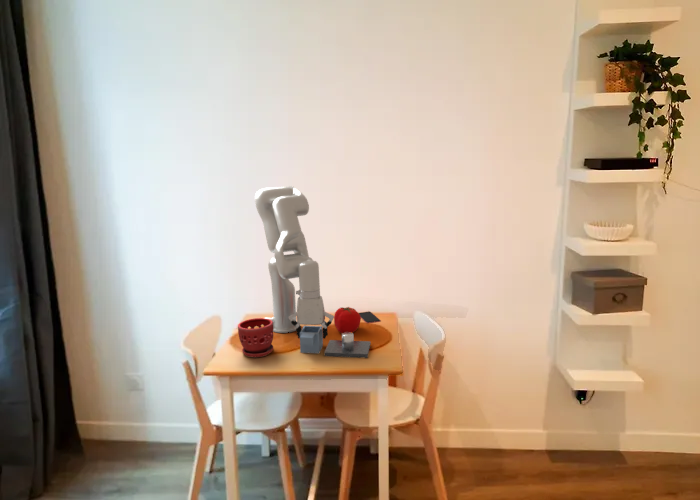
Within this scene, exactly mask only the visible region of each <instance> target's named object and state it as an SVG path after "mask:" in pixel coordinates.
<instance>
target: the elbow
mask: <svg viewBox="0 0 700 500" xmlns="http://www.w3.org/2000/svg"><path fill="white" fill-rule="evenodd" d="M323 345H324V338H323V326H322V325H320V326H319V325H303V327H301V331H300V338H299V348H300V352H299V353H302V354H320V353H321V351H322V348H323Z"/></svg>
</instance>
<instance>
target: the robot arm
mask: <svg viewBox="0 0 700 500" xmlns="http://www.w3.org/2000/svg"><path fill="white" fill-rule="evenodd" d="M254 203H255V207H256V210H257V213H258V215H259V217H260V219H261V221H262V225H263V229H264V234H265V239H266V244H267V247H268V250H269V251H270V252H271V253H273V254H274V256H273V257H272V258H271V259H269V261H268V271H269V276H270V281H271V282H270V283H271V293H272V294H271V295H272V308H273V309H272V311H273V312H272V313H273V316H272V317H265V318H266V319H270V320H272V321H273V328H274V329H273V333H279V334H287V333H288V332H289V333H293V332H296V336H297V338H298V339H300V331H301V330H302V326H301V325H303V326H319V325H320V326H322V334H323V340H326V338H327V337H328V334H329V332H328V328H329V326H330V325H331V324H332V322H334V315H333V314H330V313H329V312H326V311H325V305H324V300H323V297H322V296H321V288H320V287H321V285H320V266H319V263H318V261H316V260H314V259H313V258H312V257H310V255H309V252H308V246H307V242H306V238H305V235H304V232H303V231H302V228H301V224H300V221H299V218H298V217H302V216H306V215H308V214H309V212H310V203H309V201H308V199H307V197H306V196H305V195H304V194H303V192H301V191H300V190H299V189H297V188H296V187H295V186H292V185H291V186H290V185H289V186H274V187H273V186H272V187H264V188H261V189H259V190H258V191H256V193H255V195H254ZM288 252H293V253H291V254H290V253H289V254H284V253H288ZM296 278H297V279H298V283H299V286H298V287H299V290H296V288H295V286H294V283H293V282H292V281H291V280H290V279H296ZM296 295H299V297H298V298H297V303H296ZM326 318H327V319H328V321H327V320H325V319H326Z"/></svg>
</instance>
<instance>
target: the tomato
mask: <svg viewBox="0 0 700 500" xmlns="http://www.w3.org/2000/svg"><path fill="white" fill-rule="evenodd" d="M359 313H360V312H359V311H357V310H356V309H355V308H352V307H350V306H347V307H340V306H339V308H337V310H336V311H335V312H334V315H333V316H334V319H333V322H334V326H335V329H336V331H338V332H339V333H341V334H343V333H345V332H352V333H355V332H356V331H357V330H358V328H359V327H360V324H361V320H362V319H361V317H360V314H359Z"/></svg>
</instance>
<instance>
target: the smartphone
mask: <svg viewBox="0 0 700 500" xmlns="http://www.w3.org/2000/svg"><path fill="white" fill-rule="evenodd" d="M358 313H359V314H360V317H361V320H362V321H363V322H364V323H366V324H375V323H379V322H382V320H381V319H380V318H379V317H378V316H376V315H375V314H374V313H373V312H371V311H363V312H358Z"/></svg>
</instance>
